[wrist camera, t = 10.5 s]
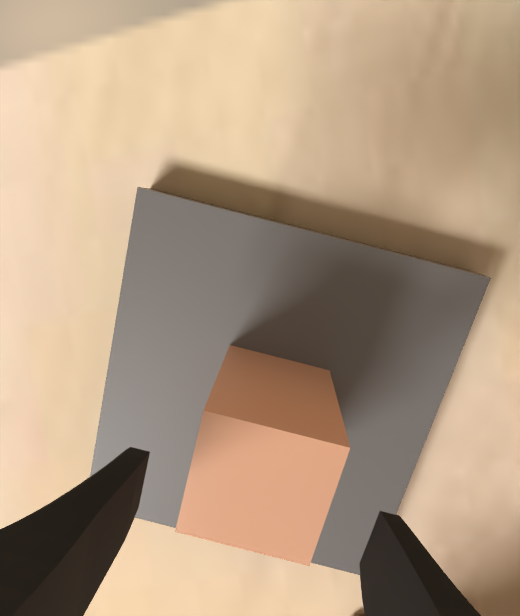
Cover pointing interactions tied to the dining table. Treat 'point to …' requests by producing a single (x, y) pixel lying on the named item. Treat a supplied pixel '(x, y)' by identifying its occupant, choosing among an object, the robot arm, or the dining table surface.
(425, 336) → the shelf board
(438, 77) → the dining table surface
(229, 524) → the terracotta block
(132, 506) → the robot arm
